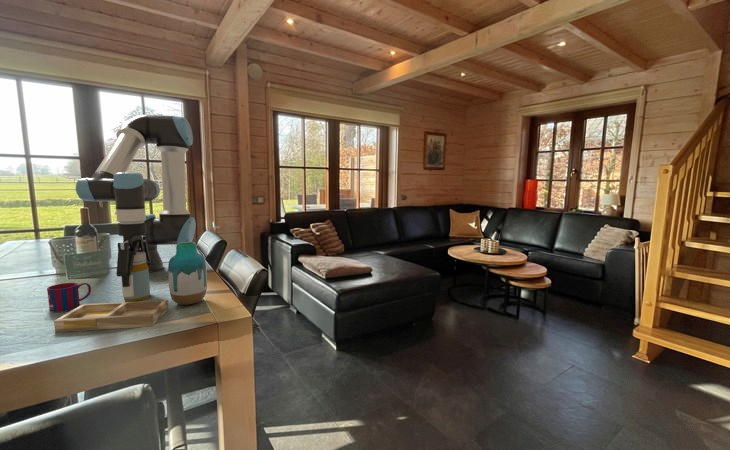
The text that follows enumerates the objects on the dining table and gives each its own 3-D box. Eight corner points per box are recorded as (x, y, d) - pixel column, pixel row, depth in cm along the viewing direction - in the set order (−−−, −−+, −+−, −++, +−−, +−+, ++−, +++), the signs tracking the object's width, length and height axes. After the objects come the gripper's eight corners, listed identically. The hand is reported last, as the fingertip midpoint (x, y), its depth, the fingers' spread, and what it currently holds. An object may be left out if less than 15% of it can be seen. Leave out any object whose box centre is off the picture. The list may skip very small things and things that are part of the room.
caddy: (83, 314, 94) (82, 304, 94) (168, 309, 99) (167, 299, 98) (54, 332, 83) (53, 321, 83) (151, 326, 87) (150, 315, 87)
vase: (215, 301, 106) (212, 242, 104) (182, 312, 97) (179, 248, 95) (195, 294, 112) (192, 239, 109) (162, 304, 103) (158, 244, 100)
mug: (46, 308, 98) (44, 286, 97) (89, 299, 106) (87, 278, 105) (53, 314, 94) (50, 291, 93) (96, 304, 102) (94, 282, 101)
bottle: (137, 303, 103) (133, 256, 101) (118, 301, 104) (114, 255, 102) (155, 296, 110) (152, 251, 108) (137, 294, 111) (134, 250, 109)
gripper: (135, 218, 114) (140, 280, 117) (96, 227, 92) (103, 303, 95) (159, 218, 116) (163, 279, 119) (127, 227, 94) (132, 302, 97)
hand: (136, 290), depth 107 cm, fingers open, 10 cm apart
